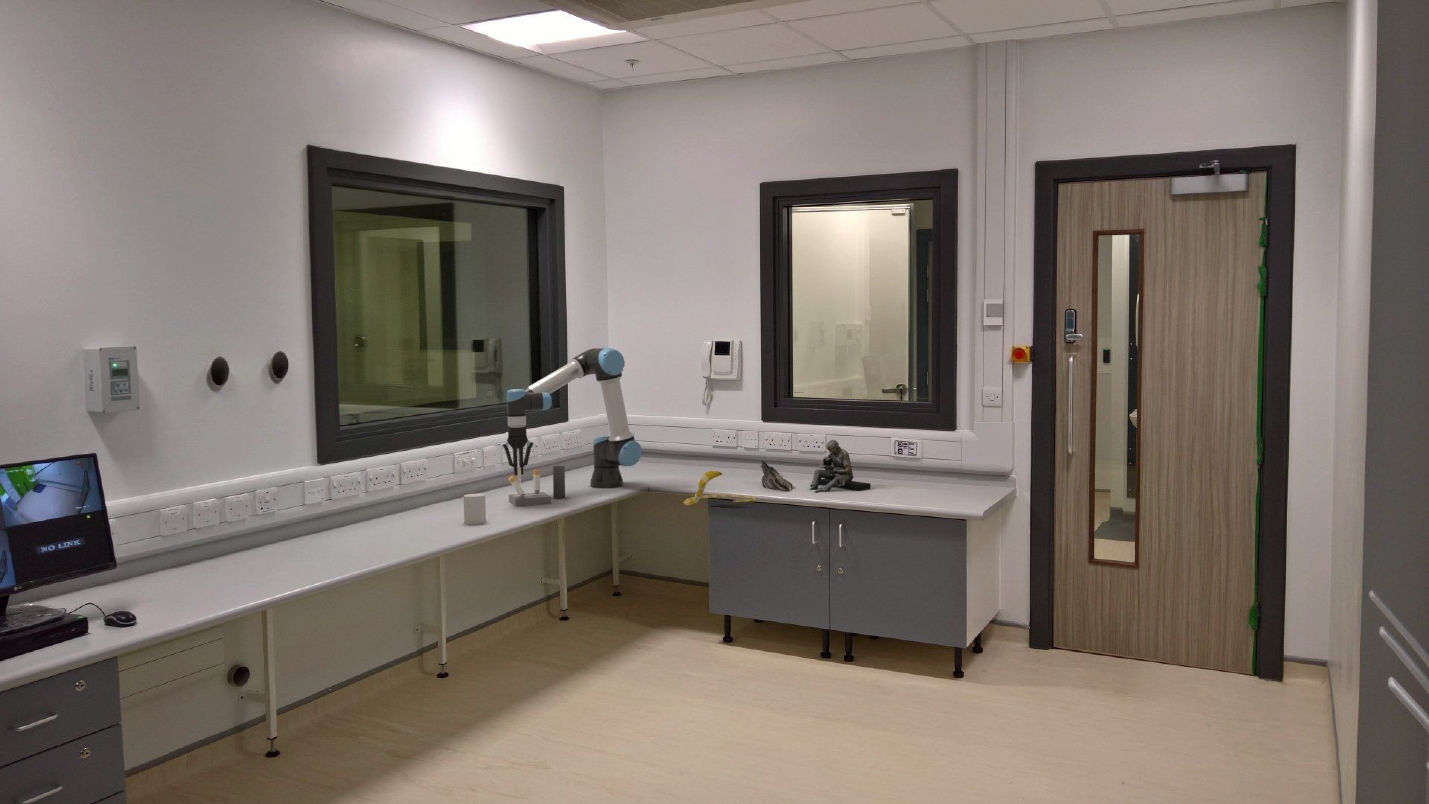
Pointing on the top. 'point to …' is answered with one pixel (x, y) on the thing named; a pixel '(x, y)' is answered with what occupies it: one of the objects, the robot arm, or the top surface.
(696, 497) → the toy
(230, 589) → the top surface
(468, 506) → the light grey upright cylinder
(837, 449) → the figurine
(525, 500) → the grey tube rack
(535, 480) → the paddle
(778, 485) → the brown ridged tapered piece
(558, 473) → the post
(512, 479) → the paddle
